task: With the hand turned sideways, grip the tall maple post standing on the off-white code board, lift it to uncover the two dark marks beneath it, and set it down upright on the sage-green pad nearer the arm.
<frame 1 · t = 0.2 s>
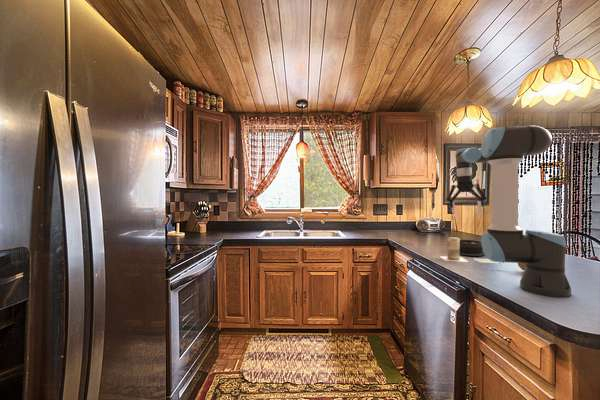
hand: (466, 213, 159), 27 cm above the countertop, tool pointing down, fingers open, 13 cm apart
potato: (534, 273, 133), on the countertop
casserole: (468, 255, 176), on the countertop
code board: (453, 260, 160), on the countertop
maple post: (453, 258, 160), point 1 cm above the countertop, touching code board
sage pad: (485, 262, 155), on the countertop
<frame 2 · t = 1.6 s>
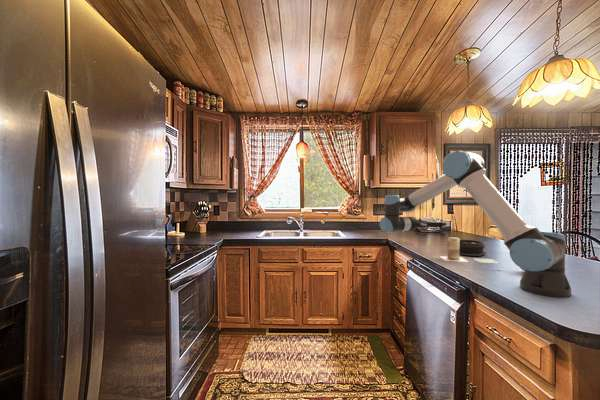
hand: (440, 222, 157), 22 cm above the countertop, tool horizontal, fingers open, 13 cm apart
nothing on the countertop moved.
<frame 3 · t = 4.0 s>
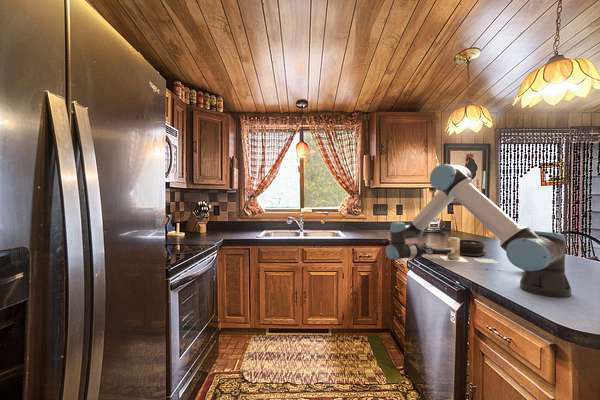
hand: (444, 248, 159), 7 cm above the countertop, tool horizontal, fingers open, 13 cm apart
nothing on the countertop moved.
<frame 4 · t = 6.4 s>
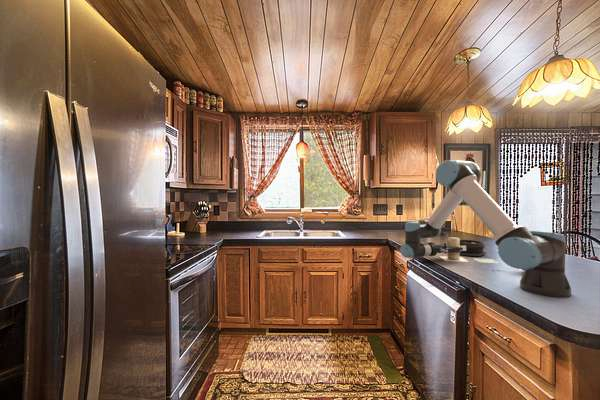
hand: (460, 247, 161), 7 cm above the countertop, tool horizontal, fingers closed on maple post, 6 cm apart
maple post: (453, 258, 160), point 1 cm above the countertop, touching code board, gripper
everything else where it was.
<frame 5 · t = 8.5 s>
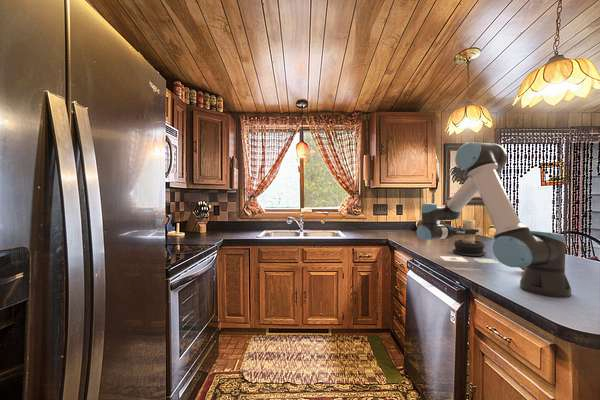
hand: (475, 229, 160), 18 cm above the countertop, tool horizontal, fingers closed on maple post, 6 cm apart
maple post: (468, 241, 158), point 11 cm above the countertop, touching gripper
everything else where it was.
when the fingers open (9 cm above the countertop, at t = 11.0 s): maple post drops 2 cm, resting on sage pad.
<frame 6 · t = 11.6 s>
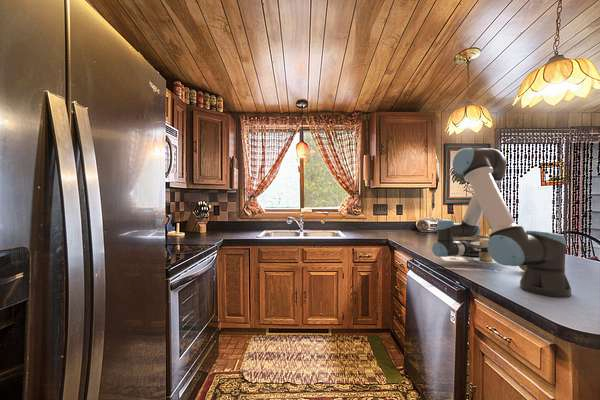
hand: (490, 246, 156), 9 cm above the countertop, tool horizontal, fingers open, 13 cm apart
maple post: (485, 260, 155), point 1 cm above the countertop, touching sage pad
everything else where it was.
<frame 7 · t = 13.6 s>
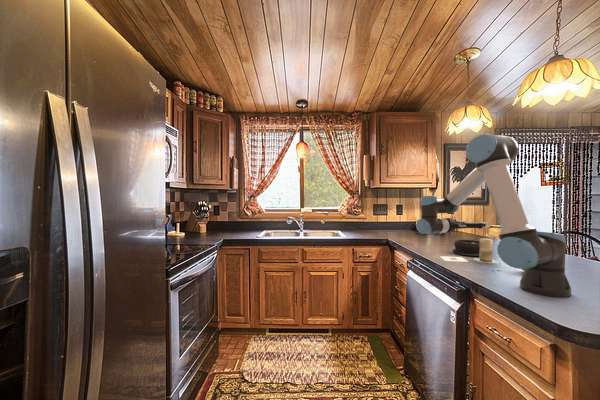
hand: (477, 223, 152), 22 cm above the countertop, tool horizontal, fingers open, 13 cm apart
nothing on the countertop moved.
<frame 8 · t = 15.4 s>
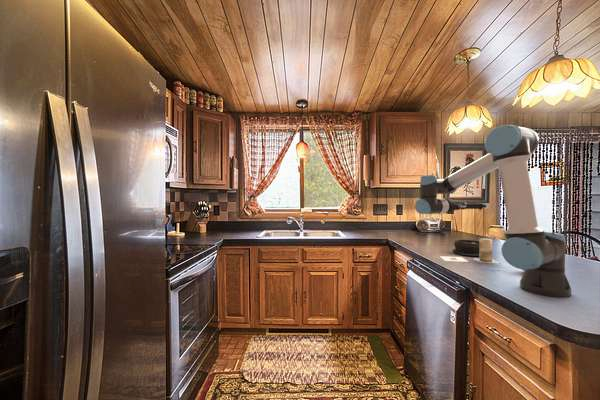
hand: (477, 205, 148), 32 cm above the countertop, tool horizontal, fingers open, 13 cm apart
nothing on the countertop moved.
at the end: maple post 0.0 cm off-centre on the sage pad, point 1.0 cm above the sage pad's base; maple post tilted 1°; the gripper is holding nothing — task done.
